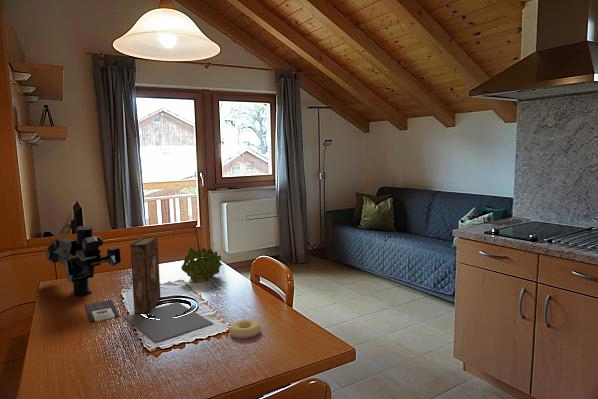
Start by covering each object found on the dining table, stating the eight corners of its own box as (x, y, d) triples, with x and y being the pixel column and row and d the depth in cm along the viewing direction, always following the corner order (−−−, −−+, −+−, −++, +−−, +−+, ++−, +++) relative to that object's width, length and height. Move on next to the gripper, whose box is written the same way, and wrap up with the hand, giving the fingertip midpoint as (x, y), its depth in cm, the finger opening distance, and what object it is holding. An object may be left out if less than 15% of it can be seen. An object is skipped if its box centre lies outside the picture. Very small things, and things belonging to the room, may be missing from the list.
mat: (124, 317, 144) (124, 316, 144) (177, 303, 158) (177, 302, 158) (155, 343, 125) (155, 341, 125) (213, 324, 139) (213, 322, 139)
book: (149, 313, 146) (145, 244, 144) (133, 314, 146) (129, 245, 143) (160, 298, 162) (157, 236, 160) (146, 299, 162) (142, 236, 160)
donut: (227, 337, 134) (236, 345, 126) (224, 324, 134) (233, 331, 125) (255, 326, 138) (266, 333, 130) (252, 313, 138) (263, 319, 130)
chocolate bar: (110, 299, 160) (118, 315, 145) (111, 302, 160) (119, 317, 145) (85, 304, 155) (90, 321, 140) (85, 306, 156) (90, 323, 141)
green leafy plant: (200, 261, 199) (222, 241, 194) (210, 289, 191) (234, 269, 186) (170, 257, 184) (194, 235, 179) (181, 286, 176) (205, 265, 171)
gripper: (58, 240, 152) (72, 253, 141) (110, 230, 164) (126, 240, 154) (61, 268, 155) (75, 282, 144) (112, 256, 167) (128, 268, 157)
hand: (102, 267), depth 149 cm, fingers open, 9 cm apart
